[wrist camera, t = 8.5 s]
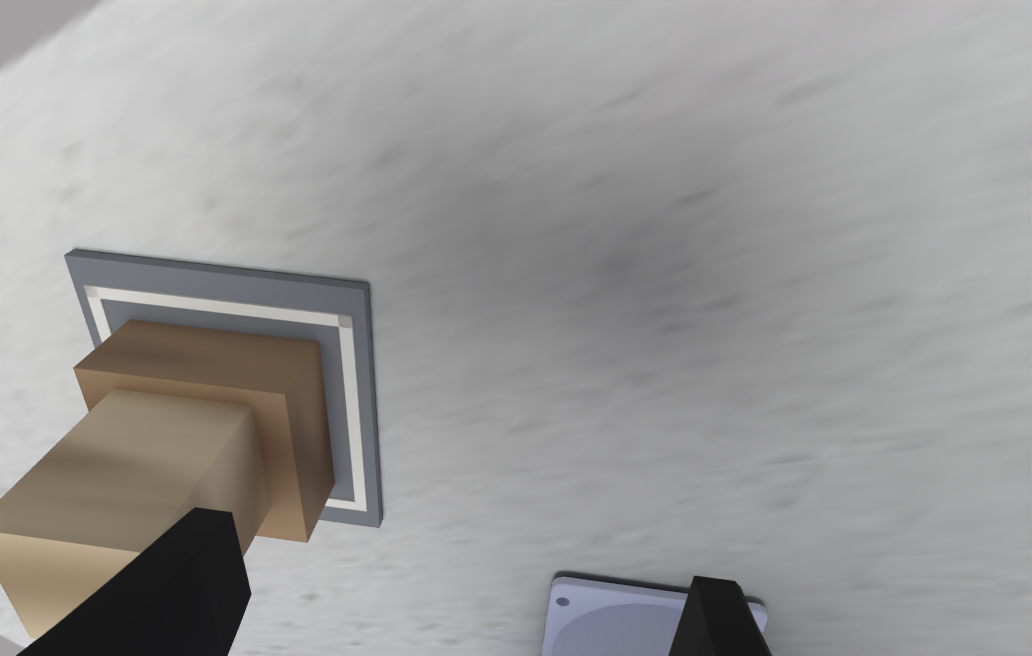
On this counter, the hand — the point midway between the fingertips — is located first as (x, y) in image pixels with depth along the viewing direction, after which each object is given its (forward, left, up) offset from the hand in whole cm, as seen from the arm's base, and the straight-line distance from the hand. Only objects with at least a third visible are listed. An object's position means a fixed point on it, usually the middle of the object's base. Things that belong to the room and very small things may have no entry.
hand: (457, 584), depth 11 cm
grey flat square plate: (-6, +9, -10) cm, 14 cm away
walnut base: (-6, +9, -10) cm, 14 cm away
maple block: (-5, +9, -7) cm, 12 cm away
